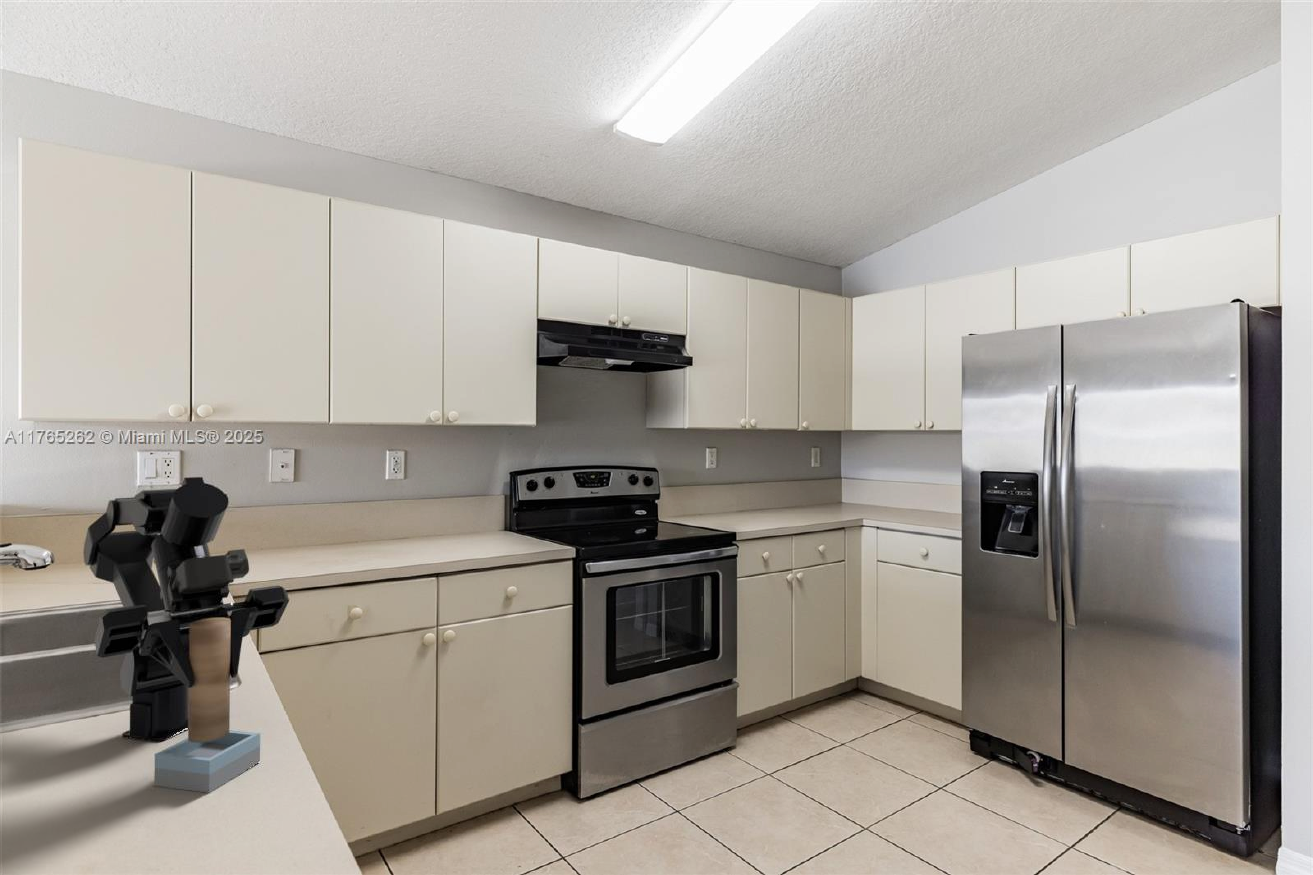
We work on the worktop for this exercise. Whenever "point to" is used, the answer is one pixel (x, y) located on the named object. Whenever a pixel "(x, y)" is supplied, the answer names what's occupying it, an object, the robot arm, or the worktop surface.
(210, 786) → the light blue open box
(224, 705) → the pillar
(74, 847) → the worktop surface
